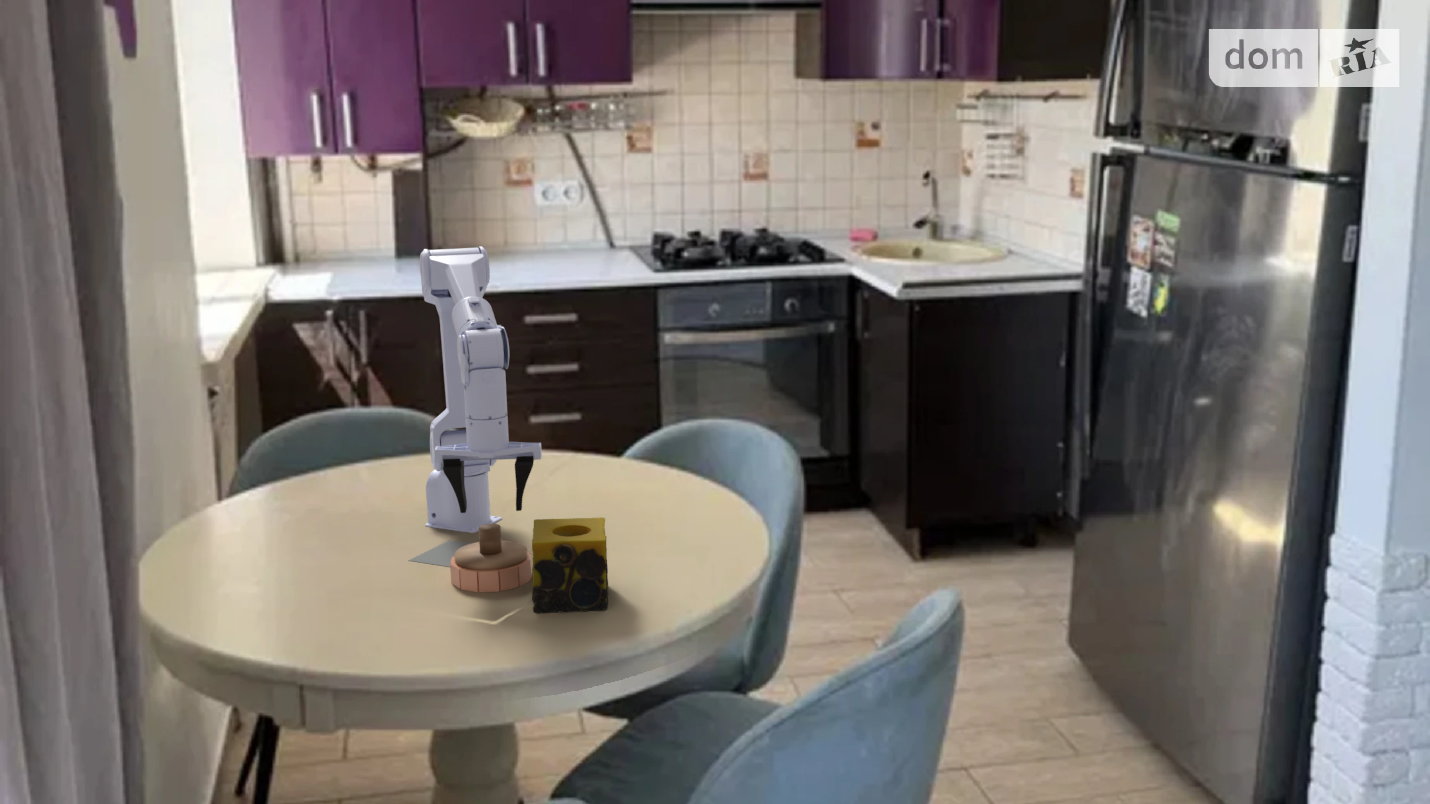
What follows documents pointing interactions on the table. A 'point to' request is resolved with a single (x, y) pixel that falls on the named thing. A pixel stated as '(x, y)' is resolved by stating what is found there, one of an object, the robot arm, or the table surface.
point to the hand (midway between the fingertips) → (491, 509)
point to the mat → (440, 554)
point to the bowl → (491, 577)
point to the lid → (490, 551)
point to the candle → (569, 565)
